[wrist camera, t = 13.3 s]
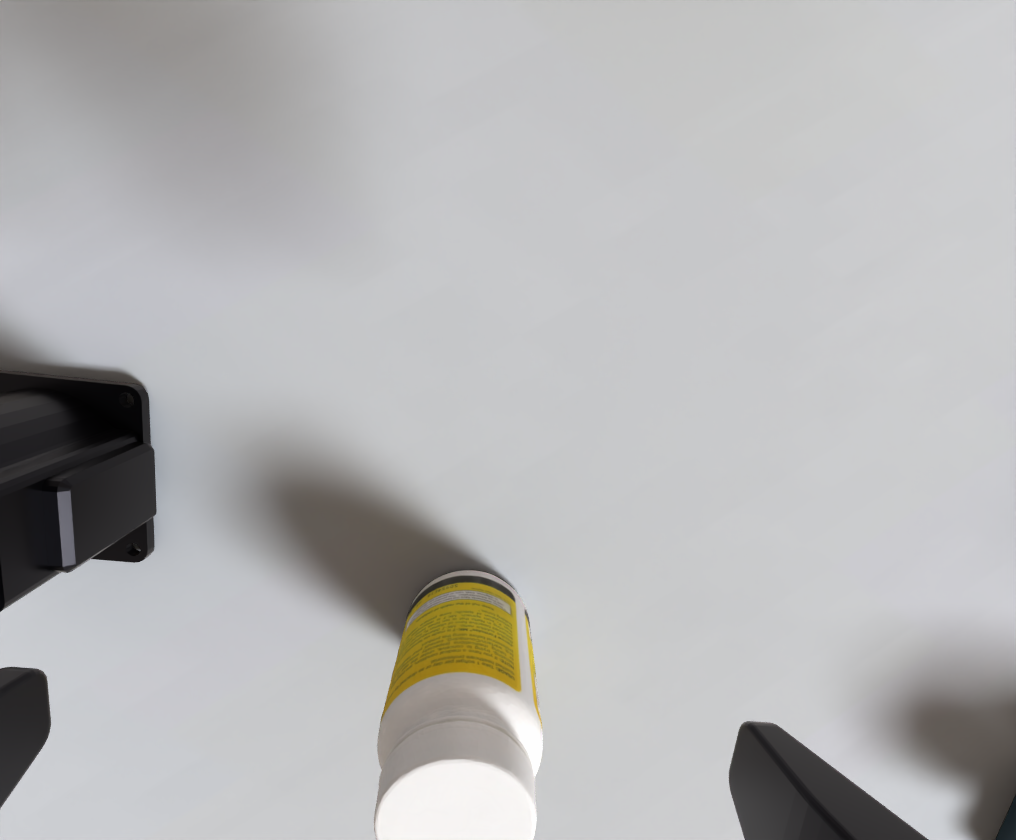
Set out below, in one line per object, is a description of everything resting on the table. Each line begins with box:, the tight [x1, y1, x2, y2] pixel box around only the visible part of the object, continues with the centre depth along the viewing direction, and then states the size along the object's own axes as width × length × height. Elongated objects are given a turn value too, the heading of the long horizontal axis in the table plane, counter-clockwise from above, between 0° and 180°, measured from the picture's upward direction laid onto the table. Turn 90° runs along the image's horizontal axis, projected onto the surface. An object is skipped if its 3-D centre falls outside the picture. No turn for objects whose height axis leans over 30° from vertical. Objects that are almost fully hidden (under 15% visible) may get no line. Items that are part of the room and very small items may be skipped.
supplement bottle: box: [374, 570, 543, 840], centre depth 17 cm, size 5×5×8 cm
